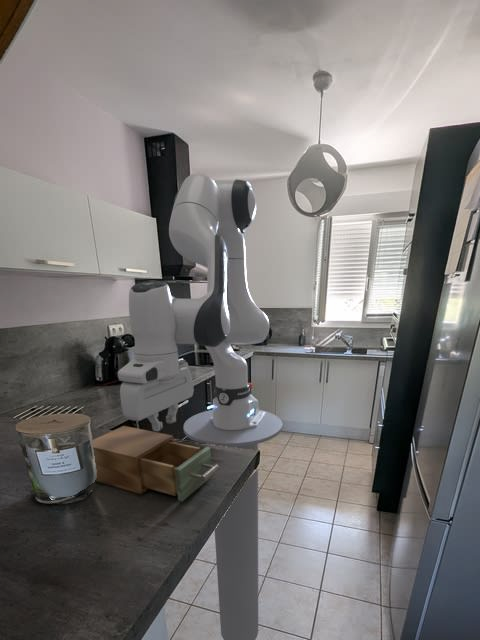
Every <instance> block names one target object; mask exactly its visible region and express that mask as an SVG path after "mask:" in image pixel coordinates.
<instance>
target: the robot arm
mask: <svg viewBox="0 0 480 640" xmlns="http://www.w3.org/2000/svg"><path fill="white" fill-rule="evenodd" d="M253 187H254V186H252V184H251V183H250V182H249V181H247V180H244V179H238V178H237V179H235V180H230V179H229V180H228V179H227V180H226V179H222V180H221V179H219V180H214V179H212V178H211V177H210V176H208V175H206V174H204V173H198V172H197V173H192V174H190V175H188V176H187V177H185V179H184V180H183V182H182V184H181V186H180V188H179V189H178V190H177V193H176V194H175V197H174V201H173V206H172V211H171V215H170V219H169V226H168V236H169V239H170V242H171V244H172V246H173V248H174V249H175V251H176V252H177V253H178V254H179V255H180V256H181V257H182V258H184V259H186V260H187V261H189V262H191V263H193V264H197V265H200V266H203V267H204V268H207V279H206V280H207V281H206V282H207V284H206V294H205V295H203V296H201V297H199V298H176V297H175V296H173V295H172V294H171V290H170V287H169V285H168V283H167V282H165V281H160V280H150V281H148V280H147V281H142V282H138V283H135V284H134V285H133V286H131V287H130V288H129V292H128V315H129V325H130V331H131V333H132V337H133V340H134V348H133V354H134V358H132V359H131V360H130V361H129V362H127V364H125V365H124V366H123V367H121V368H120V369H119V370H118V371H117V378H118V380H119V381H120V382H122V383H121V385H120V387H119V398H120V406H121V411H122V415H123V416H124V417H125V418H126V419H127V420H130V421H134V422H135V421H136V422H140V421H142V420H144V419H147V420H148V421H149V422H150V424H151V429H152V431H153V432H160V431H162V430H163V429H164V425H163V421H159V418H158V417H159V412H162V411H163V410H166V409H167V415H165V422H166V424H168V425H173V424H174V423H176V422H177V414H178V410H179V404H180V403H181V402H183V401H185V400H188V399H190V398H192V397H193V395H194V391H195V389H194V388H195V387H194V382H193V381H194V380H193V376H192V372H191V370H190V368H189V363H188V362H187V360H185V359H184V358H179V349H178V345H194V346H195V345H196V346H197V345H198V346H202V347H205V349H206V351H207V352H208V353H209V356H210V357H211V360H212V363H213V369H214V377H215V379H214V381H215V385H214V396H215V397H214V398H213V399H212V405H209V406H207V410H211V409H212V410H213V416H212V417H210V421H211V422H213V425H214V426H215V427H216V428H219V429H223V430H242V429H247V428H256V427H257V426H258V425H259V423H260V422H261V420H262V419H263V417H264V416H265V412H264V411H265V410H262V411H261V409H260V403H259V402H260V401H259V400H258V399H257V398H256V397H254V395H252V393H251V390H252V389H253V387H254V383H253V382H249V381H248V380H249V376H248V375H249V373H248V371H249V370H248V363H247V361H246V360H245V358H243V357H242V356H241V355H239V354H238V353H236V352H235V351H234V350H233V347H232V345H240V346H241V345H244V346H249V345H257V344H261V343H263V342H264V341H265V340H266V338H267V337H268V335H269V332H270V320H269V318H268V316H267V315H266V313H265V312H264V311H263V310H261V309H260V308H259V307H258V306H257V304H256V303H255V301H254V300H253V298H252V295H251V294H250V291H249V287H248V280H247V278H248V277H247V260H246V259H247V257H246V256H247V255H246V254H247V253H246V244H245V237H244V234H245V233H246V230H247V228H249V227H250V226H251V224H252V223H253V222H254V220H255V218H256V211H257V199H256V195H255V190H254V188H253ZM177 344H178V345H177Z"/></svg>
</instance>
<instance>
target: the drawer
mask: <svg viewBox="0 0 480 640" xmlns="http://www.w3.org/2000/svg"><path fill="white" fill-rule="evenodd" d="M138 460H139V467H140V473H141V480H142V487H145V488H149V489H148V490H153V491H156V492H160V493H164V494H165V495H166V494H167V495H170V496H174V497H176V496H177V500H178V501H180V502H184V501H185V500H186V499H187V498H188V497H190V496H191V495H192V494H193V493H194V492H195V491H197V490H198V489H199V488H200V487H201V486H202V485H204V483H206V482H207V481H208V480H209V479H211V477H213V475H214V474H215V473H216V472H217V471H219V470H220V466H219V465H218V464H217V463H215V464H214V465H213V464H212V453H211V447H209V446H205V447H204V448H202V449H201V447H199V446H193V445H189V444H185V443H180V442H179V443H178V442H175V441H174V442H170V441H168V442H166V443H165V444H163V445H161V446H160V447H158V448H156V449H155V450H153V451H151V452H150V453H148V454H146V455H144V456H143V457H141V458H139V459H138ZM174 467H177V468H176V469H175V470H174ZM175 474H176V479H175Z"/></svg>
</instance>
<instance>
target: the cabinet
mask: <svg viewBox="0 0 480 640" xmlns="http://www.w3.org/2000/svg"><path fill="white" fill-rule="evenodd" d="M91 441H93V449H94V456H95V463H96V469H97V478H96V481H95V482H98V483H102V484H104V485H108V486H111V487H115V488H117V489H118V488H119V489H122V490H126V491H127V492H128V491H129V492H132V493H135V494H139V495H143V494H144V493H145V492H146V491H148V490H150V489H149V488H145V487H142V480H141V473H140V467H139V460H138V459H139V458H141V457H143V456H144V455H146V454H148V453H150V452H151V451H153V450H155V449H156V448H158V447H160V446H161V445H163V444H165V443H166V442H168V441H170V442H175V441H174V435H172V434H167V433H163V432H162V433H161V432H158V431H153V430H152V431H151V430H147V429H141V428H137V427H131V426H127V425H122V426H120V427H118V428H116V429H113V430H112V431H109V432H107V433H104V434H103V435H101V436H98V437H95V438H94V439H92V440H91Z"/></svg>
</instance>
